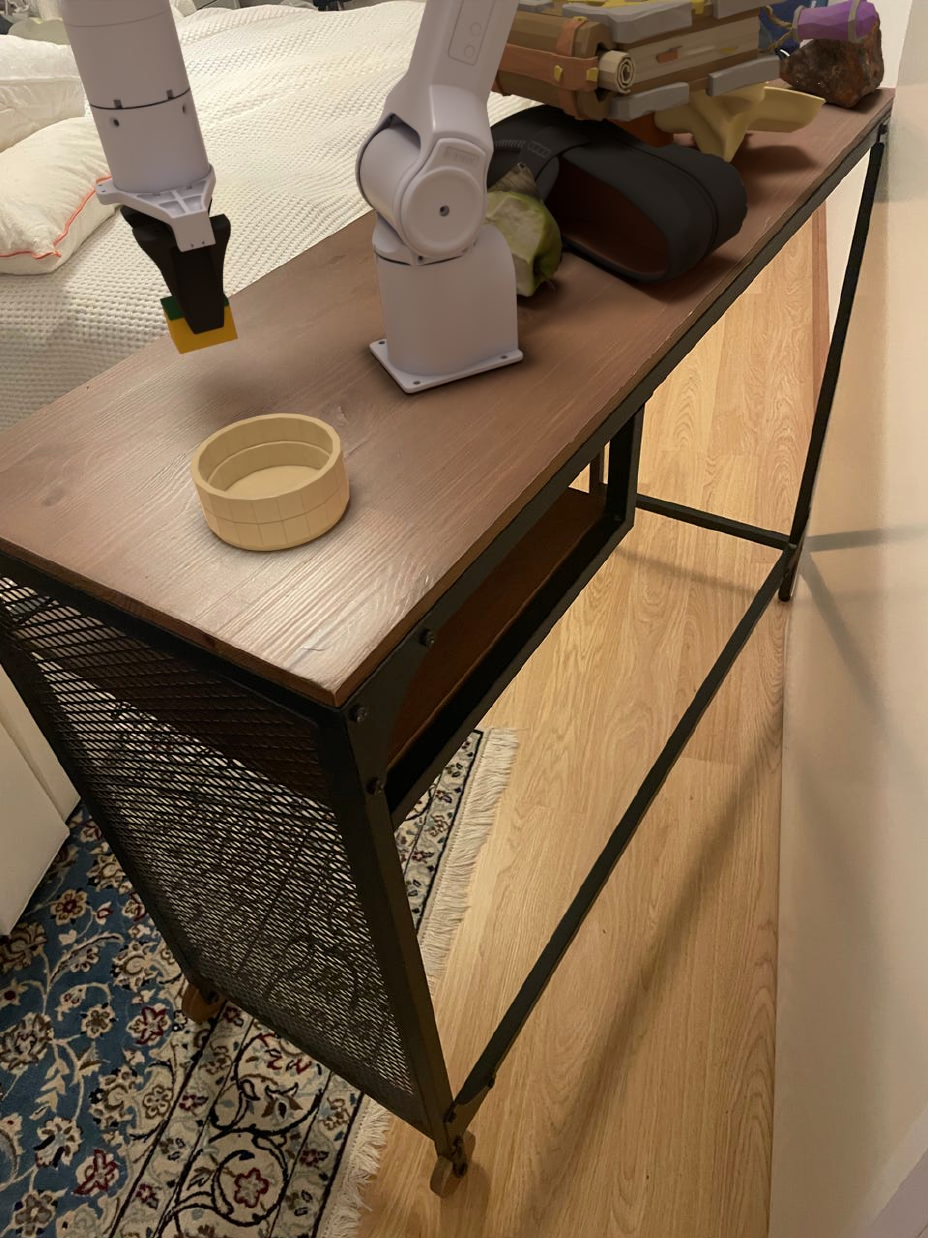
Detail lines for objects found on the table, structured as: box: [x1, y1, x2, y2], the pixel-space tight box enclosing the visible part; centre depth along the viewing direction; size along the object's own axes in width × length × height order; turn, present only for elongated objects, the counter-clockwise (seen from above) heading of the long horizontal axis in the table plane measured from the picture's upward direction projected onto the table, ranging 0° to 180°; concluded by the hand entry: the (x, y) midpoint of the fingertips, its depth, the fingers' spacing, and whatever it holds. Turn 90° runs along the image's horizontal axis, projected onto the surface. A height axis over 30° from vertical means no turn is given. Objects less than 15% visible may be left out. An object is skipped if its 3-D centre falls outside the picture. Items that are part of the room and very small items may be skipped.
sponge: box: [159, 292, 239, 355], centre depth 63 cm, size 4×3×3 cm, turn 115°
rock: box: [779, 11, 885, 109], centre depth 106 cm, size 14×12×10 cm
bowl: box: [189, 412, 351, 552], centre depth 58 cm, size 9×9×4 cm
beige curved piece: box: [654, 81, 828, 163], centre depth 95 cm, size 22×19×6 cm
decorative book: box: [491, 0, 878, 121], centre depth 80 cm, size 25×27×11 cm
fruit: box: [483, 162, 562, 298], centre depth 77 cm, size 9×9×8 cm
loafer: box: [486, 103, 749, 284], centre depth 81 cm, size 10×28×12 cm
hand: (202, 319), depth 63 cm, fingers closed on sponge, 2 cm apart
